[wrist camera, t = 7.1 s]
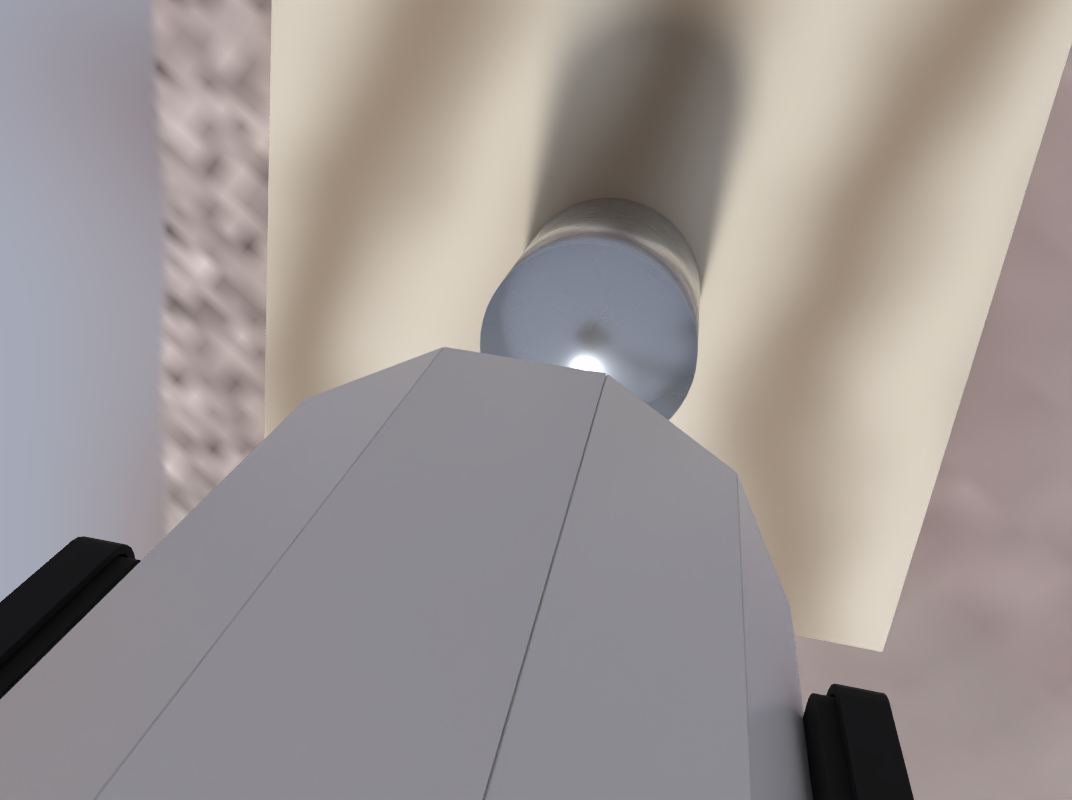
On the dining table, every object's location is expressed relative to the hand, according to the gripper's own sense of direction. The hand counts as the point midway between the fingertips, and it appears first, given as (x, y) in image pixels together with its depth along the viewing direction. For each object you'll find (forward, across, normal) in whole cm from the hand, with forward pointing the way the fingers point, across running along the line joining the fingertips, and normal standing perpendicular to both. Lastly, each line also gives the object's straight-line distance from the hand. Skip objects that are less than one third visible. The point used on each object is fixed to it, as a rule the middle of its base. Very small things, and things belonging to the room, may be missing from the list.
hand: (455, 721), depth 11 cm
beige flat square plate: (+20, 0, 0) cm, 20 cm away
